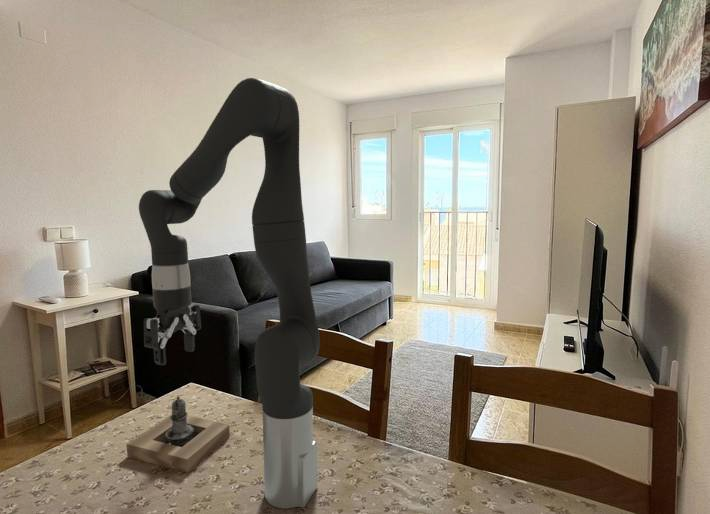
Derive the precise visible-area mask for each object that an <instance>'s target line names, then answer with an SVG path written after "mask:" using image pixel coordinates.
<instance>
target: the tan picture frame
mask: <svg viewBox="0 0 710 514" xmlns="http://www.w3.org/2000/svg"><path fill="white" fill-rule="evenodd" d="M171 415H172V414H170V415H168V417H166V418H164V419H163V420H161V421H159V422H157V423H156V424H155V425H153V426H151V428H148V429H147V430H145V431H144V432H143V433H141V434H140V435H138V436H137V437H134V439H132V440H130V441H129V442H127V443H126V455H127V457H128V458H131V459H135V460H138V461H141V462H145V463H149V464H153V465H157V466H161V467H163V468H167V469H172V470H175V471H180V472H183V473H187V474H188V473H189V472H191V471H192V470H193V469H194V468H196V467H197V466H198V465H199V464H200V463H201V462H202V461H204V459H206V458H207V457H209V455H210V454H212V452H214V451H215V450H216V449H217V448H218V447H220V446H221V445H222V444H223V443H224V442H226V440H228V438H230V434H231V433H230V424H228V423H222V422H219V421H215V420H211V419H210V420H208V419H206V418H200V417H196V416H191V415H188V416H187V417H186V418H187V425H190V426H192V427H193V428H194V432H193V434H192V437H191V439H190V441H189V442H188V443H187V444H185V445H184V446H183V447H179V446H175V445H171V444H170V443H169V441H168V439H167V437H166V432H167V431H168V430H169V429H171V428H172V419H171V418H170V417H171Z"/></svg>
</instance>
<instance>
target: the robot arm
mask: <svg viewBox="0 0 710 514" xmlns="http://www.w3.org/2000/svg"><path fill="white" fill-rule="evenodd" d="M250 136H251V137H257V138H261V139H262V142H263V149H264V160H265V162H264V163H265V164H264V165H265V166H264V172H263V173H264V174H263V178H262V182H261V184H260V186H259V189H258V192H257V194H256V197H255V201H254V203H253V207H252V211H251V212H252V213H251V224H252V225H251V226H252V233H253V234H252V235H253V236H252V237H253V245H254V249H255V250H254V251H255V255H256V257H257V259H258V261H259V263H260V265H261V267H262V268H263V270H264V272H265V273H266V274H267V276H268V278H269V279H270V281H271V283H272V284H273V287H274V289H275V292H276V295H277V301H278V308H279V322H278V323H276V324H273V325H272V326H269V327H267V328H265V329H264V330H262V331H261V332H260V333H259V335H258V337H257V338H256V341H255V346H254V347H255V348H254V363H255V365H254V366H255V375H256V376H255V377H256V387H257V393H258V395H259V398H260V401H261V404H262V405H261V406H262V407H261V408H262V412H261V413H262V445H263V446H262V448H263V449H262V450H263V453H262V454H263V479H264V480H263V481H264V482H263V486H264V487H263V488H264V490H263V491H264V498H265V501H266V502H267V503H268V504H269V505H271V506H272V507H275V508H278V509H292V508H293V509H294V508H296V507H299V508H302V509H303V508H305V507H306V505H307V503H308V502H309V500H310V499H311V498H312V496H313V495H314V493H315V491H316V490H317V488H318V442H317V441H316V440H314V427H313V426H314V424H313V423H314V421H313V419H314V416H313V415H314V411H313V410H314V409H313V408H314V395H313V392H312V389H311V388H310V387H309V386H307V385H306V384H302V383H301V381H300V380H301V379H300V370H302V369H304V368H305V367H306V366H308V365H310V364H311V363H312V362H313V361H314V360H315V359H316V357H317V356H318V353H319V352H320V345H321V339H320V330H319V326H318V321H317V315H316V311H315V306H314V301H313V296H312V294H313V293H312V290H311V279H310V271H309V269H310V268H309V261H308V253H307V249H308V248H307V235H306V234H307V233H306V225H305V216H304V208H303V197H302V186H301V185H302V184H301V172H300V171H301V170H300V112H299V106H298V103H297V100H296V97H294V95H293V94H292V92H291V91H289V90H287V89H286V88H284V87H282V86H279V85H277V84H274V83H273V82H269V81H266V80H263V79H259V78H257V77H256V78H255V77H248V78H245V79H243V80H241V81H240V82H238V84H236V85H235V86H234V87H233V89H232V90H231V91H230V93H229V95H228V96H227V97H226V99H225V101H224V102H223V104H222V106H221V107H220V109H219V111H218V112H217V114H216V116H215V117H214V119H213V120H212V122H211V123H210V126H209V127H208V128H207V130H206V132H205V134H204V135H203V137H202V139H201V140H200V142H199V144H198V145H197V146H196V148H195V149H194V150H193V152H191V154H190V155H189V156H188V157H187V158H186V159H185V160H184V161H183V162H182V163H181V165H179V167H178V168H177V169H176V170H175V171H174V173H172V175H171V177H170V178H169V189H170V190H169V189H167V190H165V189H163V190H162V189H161V190H160V189H152V190H151V189H150V190H146V191H145V192H143V194H142V195H141V196H140V199H139V203H138V213H139V215H140V219H141V221H142V225H143V227H144V230H145V233H146V236H147V238H148V241H149V242H148V243H149V245H150V252H151V253H150V254H151V285H152V303H153V308H154V309H155V310H156V316H155V317H153V318H148V317H147V318H144V319H143V346H144V347H145V348H149V349H153V350H152V351H153V359H154V360H153V361H154V363H155V364H156V366H165V365H167V353H166V352H167V351H166V344H167V342H168V340H169V339H170V338H171V337H172V335H173V334H174V333H176V332H177V331H182V332H183V333H184V335H183V343H184V346H183V347H184V350H185V352H190V353H192V352H194V351H195V347H196V342H195V341H196V339H195V336H196V335H197V331H198V330H199V331H200V330H202V319H201V309H200V305H199V304H194V303H193V304H192V300H193V299H192V288H191V287H192V286H191V285H192V284H191V273H190V272H191V271H190V265H189V252H188V242H187V239H186V238H185V236H181V235H177V234H172V232H171V230H170V228H169V226H168V225H178V224H183V223H185V222H188V221H189V220H191V219H192V218H194V216H195V214H196V212H197V210H198V208H199V206H200V204H201V202H202V200H203V198H204V197H205V196H207V194H208V193H210V191H211V190H212V189H213V188H214V187H216V185H217V184H219V182H220V181H221V179H222V178H223V176H224V174H225V172H226V168H227V165H228V160H229V159H228V158H229V156H230V153H231V152H232V151H233V149H234V148H235V147H236V146H238V144H240V143H241V142H242V141H244V140H245V139H246V138H248V137H250ZM162 331H163V332H162Z"/></svg>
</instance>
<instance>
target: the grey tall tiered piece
mask: <svg viewBox="0 0 710 514" xmlns="http://www.w3.org/2000/svg"><path fill="white" fill-rule="evenodd" d="M170 415H171V417H170V418H171V419H172V428H171V429H169V430H168V431H167V432H166V437H167V439H168V444H171V445H175V446H179V447H183V446H184V445H185V444H187V443H188V442H189V441H190V440H192V438H193V437H192V434H193V432H194V428H193V427H192V426H190V425H187V418H186V417H187V416H189V413H188V412H187V410H186V401H185V400H184V399H182V398H180V396H179V395H178V396H177V397H176V399H175V400H173V401H172V403H171V414H170Z"/></svg>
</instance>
